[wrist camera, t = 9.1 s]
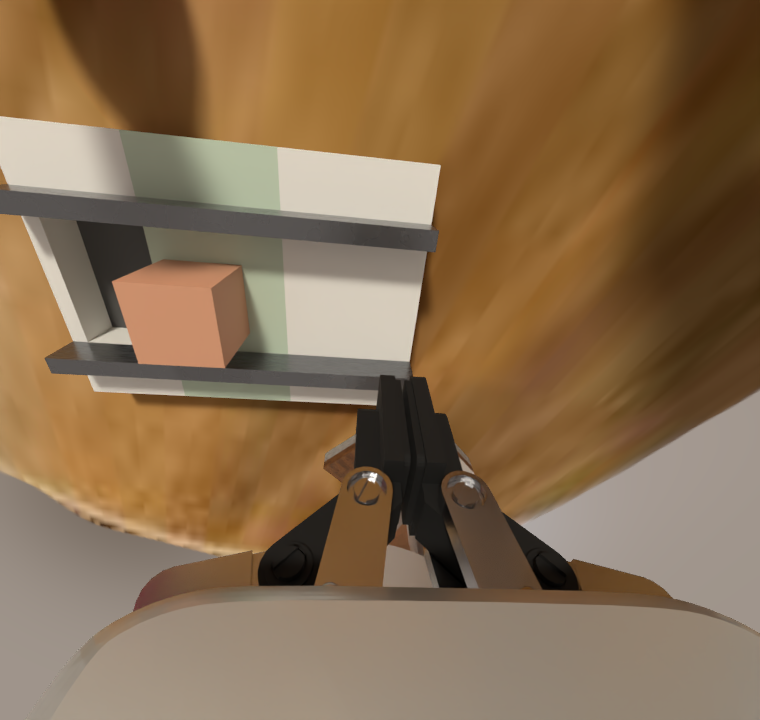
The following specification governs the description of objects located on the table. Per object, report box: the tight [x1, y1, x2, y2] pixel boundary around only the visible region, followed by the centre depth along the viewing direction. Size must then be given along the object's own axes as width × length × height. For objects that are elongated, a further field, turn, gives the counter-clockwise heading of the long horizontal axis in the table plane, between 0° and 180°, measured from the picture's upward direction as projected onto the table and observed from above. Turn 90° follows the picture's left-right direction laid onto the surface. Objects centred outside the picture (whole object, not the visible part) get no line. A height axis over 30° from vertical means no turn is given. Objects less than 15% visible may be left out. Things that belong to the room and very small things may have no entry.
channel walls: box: [0, 184, 439, 391], centre depth 22 cm, size 25×11×2 cm, turn 85°
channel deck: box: [0, 116, 441, 405], centre depth 24 cm, size 25×18×3 cm
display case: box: [324, 434, 474, 588], centre depth 20 cm, size 11×11×35 cm
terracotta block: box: [112, 259, 250, 368], centre depth 21 cm, size 5×5×5 cm
